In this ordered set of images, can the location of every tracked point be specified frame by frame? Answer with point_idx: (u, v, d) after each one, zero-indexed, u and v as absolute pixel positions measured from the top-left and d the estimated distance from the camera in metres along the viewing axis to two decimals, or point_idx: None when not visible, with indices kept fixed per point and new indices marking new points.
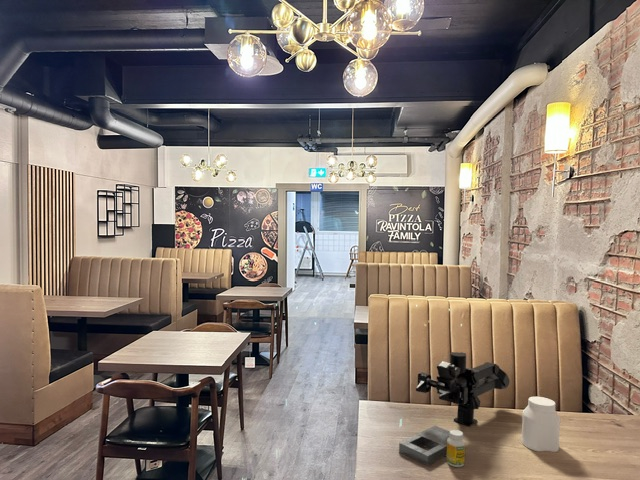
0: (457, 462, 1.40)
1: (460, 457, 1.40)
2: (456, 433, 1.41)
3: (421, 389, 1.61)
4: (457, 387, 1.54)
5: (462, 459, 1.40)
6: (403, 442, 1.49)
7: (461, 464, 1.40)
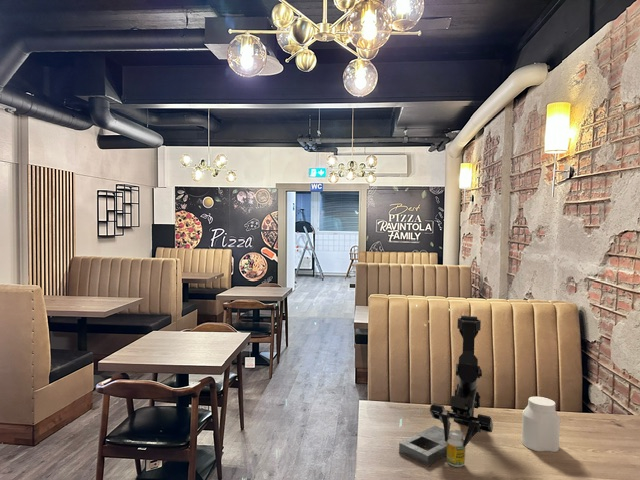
0: (457, 462, 1.40)
1: (460, 457, 1.40)
2: (456, 433, 1.41)
3: (448, 432, 1.45)
4: (476, 424, 1.40)
5: (462, 459, 1.40)
6: (403, 442, 1.49)
7: (461, 464, 1.40)
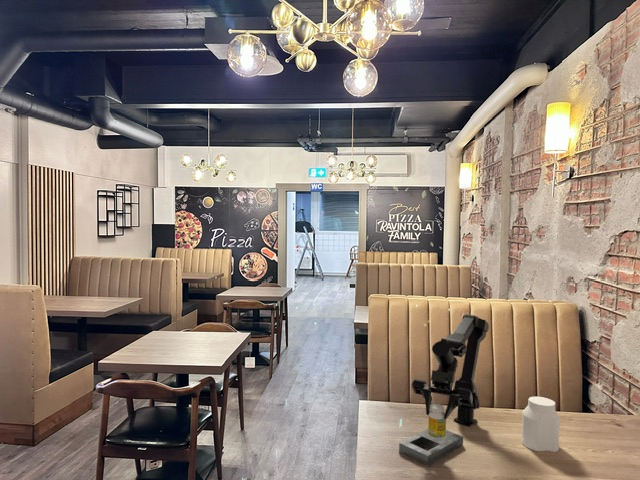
0: (438, 434, 1.43)
1: (441, 430, 1.43)
2: (437, 407, 1.45)
3: (429, 406, 1.48)
4: (456, 397, 1.44)
5: (443, 431, 1.44)
6: (403, 442, 1.49)
7: (442, 436, 1.44)
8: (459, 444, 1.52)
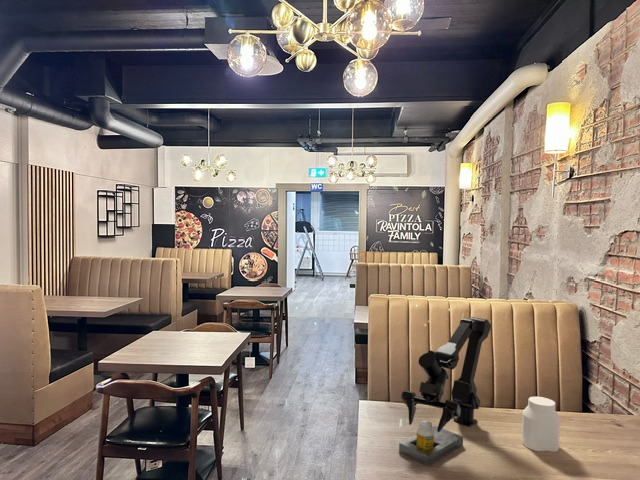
0: None
1: (428, 447, 1.46)
2: (425, 424, 1.47)
3: (412, 416, 1.51)
4: (449, 410, 1.45)
5: (431, 448, 1.46)
6: (403, 442, 1.49)
7: None
8: (459, 444, 1.52)
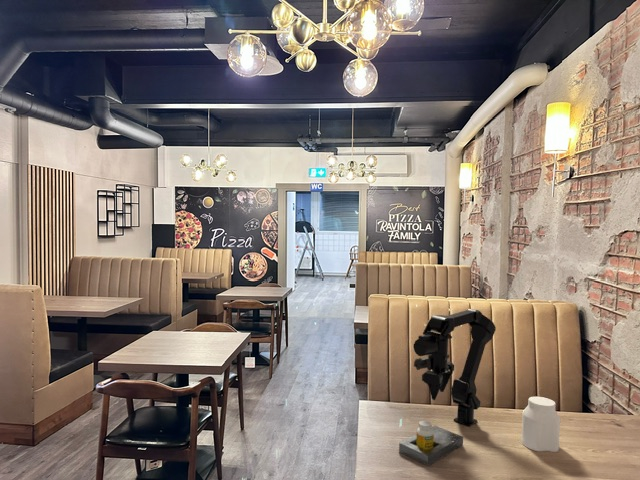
0: None
1: (428, 447, 1.46)
2: (425, 424, 1.47)
3: (443, 383, 1.67)
4: None
5: (431, 448, 1.46)
6: (403, 442, 1.49)
7: None
8: (459, 444, 1.52)
